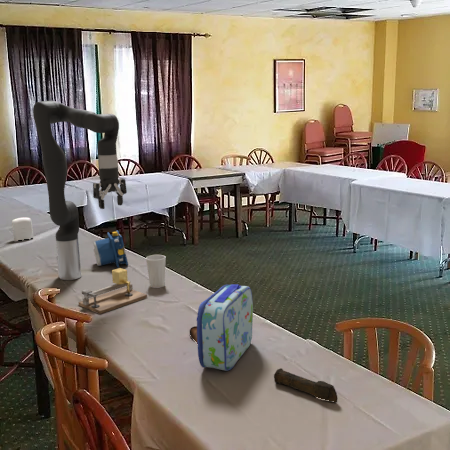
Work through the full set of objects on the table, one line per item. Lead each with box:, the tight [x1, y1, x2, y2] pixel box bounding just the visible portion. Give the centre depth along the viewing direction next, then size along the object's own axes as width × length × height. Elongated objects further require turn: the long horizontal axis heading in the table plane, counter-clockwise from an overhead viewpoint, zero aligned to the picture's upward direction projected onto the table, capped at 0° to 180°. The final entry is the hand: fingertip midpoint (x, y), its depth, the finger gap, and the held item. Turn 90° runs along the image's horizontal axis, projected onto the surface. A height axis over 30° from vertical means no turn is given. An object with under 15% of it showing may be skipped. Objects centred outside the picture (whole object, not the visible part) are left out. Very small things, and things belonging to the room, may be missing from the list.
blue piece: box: [93, 230, 129, 269], centre depth 275 cm, size 13×15×15 cm
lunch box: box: [196, 283, 254, 372], centre depth 178 cm, size 26×11×21 cm, turn 159°
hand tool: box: [273, 368, 338, 403], centre depth 158 cm, size 19×4×5 cm, turn 46°
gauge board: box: [78, 279, 148, 315], centre depth 228 cm, size 14×22×6 cm, turn 137°
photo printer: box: [11, 216, 34, 242], centre depth 323 cm, size 10×4×12 cm, turn 117°
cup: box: [145, 254, 167, 289], centre depth 244 cm, size 8×8×12 cm
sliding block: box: [111, 267, 131, 294], centre depth 232 cm, size 8×4×9 cm, turn 47°
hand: (111, 206), depth 235 cm, fingers open, 8 cm apart
